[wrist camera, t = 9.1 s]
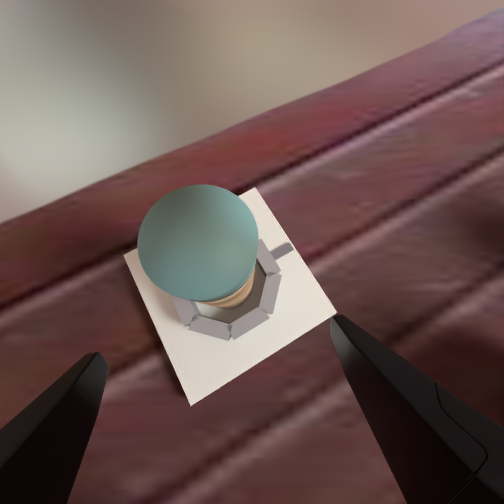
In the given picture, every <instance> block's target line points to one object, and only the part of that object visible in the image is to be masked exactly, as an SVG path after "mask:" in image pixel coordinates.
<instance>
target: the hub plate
mask: <svg viewBox="0 0 504 504" xmlns="http://www.w3.org/2000/svg"><path fill="white" fill-rule="evenodd" d="M238 197H239V198H240V199H241V200H242V201H243V202H244V203H245V204H246V205H247V206H248V208H249V209H250V210H251V212H252V214H253V216H254V218H255V221H256V224H257V228H258V235H259V241H258V250H257V257H256V264H255V271H254V278H253V284H252V290H251V293H250V295H249V297H248V298H247V300H246V301H245V302H244V303H243V304H241V305H240V306H238V307H235V308H231V309H223V308H218V307H214V306H211V305H207V304H203V303H199V302H195V301H192V300H188V299H184V298H180V297H177V296H174V295H171V294H169V293H167V292H165V291H163V290H162V289H160V288H159V287H157V286H156V285H155V284H154V283H153V282H152V281H151V280H150V279H149V277H148V276H147V275H146V273H145V271H144V270H143V268H142V265H141V263H140V260H139V256H138V248H136V249H134V250H132V251H130V252H129V253H127V254H125V255H123V256H124V258H125V260H126V262H127V265H128V267H129V269H130V271H131V274H132V276H133V278H134V280H135V282H136V285H137V287H138V289H139V291H140V294H141V296H142V298H143V300H144V303H145V305H146V307H147V309H148V311H149V314H150V316H151V318H152V320H153V323H154V325H155V327H156V329H157V332H158V334H159V336H160V338H161V340H162V343H163V345H164V347H165V349H166V352H167V354H168V356H169V358H170V361H171V363H172V365H173V367H174V369H175V372H176V374H177V376H178V378H179V381H180V383H181V385H182V387H183V390H184V392H185V394H186V396H187V398H188V401H189V403H190V405H191V406H192V405H193V404H195V403H196V402H198V401H199V400H201V399H202V398H204V397H206V396H207V395H209V394H210V393H212V392H213V391H215V390H217V389H218V388H220V387H221V386H223V385H224V384H226V383H228V382H229V381H231V380H232V379H234V378H235V377H237V376H239V375H240V374H242V373H243V372H245V371H246V370H248V369H249V368H251V367H253V366H254V365H256V364H257V363H259V362H260V361H262V360H264V359H265V358H267V357H268V356H270V355H271V354H273V353H275V352H276V351H278V350H279V349H281V348H282V347H284V346H286V345H287V344H289V343H290V342H292V341H293V340H295V339H296V338H298V337H300V336H301V335H303V334H304V333H306V332H307V331H309V330H311V329H312V328H314V327H315V326H317V325H318V324H320V323H322V322H323V321H325V320H326V319H328V318H329V317H331V316H333V315H334V314H336V313H337V312H336V310H335V309H334V307H333V305H332V304H331V302H330V301H329V299H328V298H327V296H326V295H325V293H324V292H323V290H322V289H321V287H320V286H319V284H318V283H317V281H316V280H315V278H314V276H313V275H312V273H311V272H310V270H309V269H308V267H307V266H306V264H305V263H304V261H303V260H302V258H301V257H300V255H299V254H298V252H297V251H296V249H295V247H294V246H293V244H292V243H291V241H290V240H289V238H288V237H287V235H286V234H285V232H284V231H283V229H282V228H281V226H280V225H279V223H278V222H277V220H276V218H275V217H274V215H273V214H272V212H271V211H270V209H269V208H268V206H267V205H266V203H265V202H264V200H263V199H262V197H261V196H260V194H259V193H258V191H257V189H256V188H253V189H251V190H249V191H247V192H245V193H243V194H241V195H240V196H238Z"/></svg>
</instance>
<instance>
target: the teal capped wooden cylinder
mask: <svg viewBox="0 0 504 504" xmlns="http://www.w3.org/2000/svg"><path fill="white" fill-rule="evenodd" d="M258 241H259V235H258V228H257V224H256V221H255V218H254V216H253V214H252V212H251V210H250V209H249V208H248V206H247V205H246V204H245V203H244V202H243V201H242V200H241V199H240V198H239V197H238V196H236V195H235V194H233V193H232V192H230V191H228V190H226V189H223V188H220V187H217V186H212V185H202V184H201V185H191V186H185V187H182V188H179V189H177V190H174V191H172V192H170V193H168V194H167V195H165V196H164V197H162V198H161V199H160V200H159V201H157V202H156V203H155V204H154V205H153V206H152V208H151V209H150V210H149V211H148V213H147V214H146V216H145V218H144V220H143V222H142V224H141V227H140V230H139V234H138V243H137V248H138V256H139V260H140V263H141V265H142V268H143V270H144V271H145V273H146V275H147V276H148V277H149V279H150V280H151V281H152V282H153V283H154V284H155V285H156V286H157V287H159V288H160V289H162V290H163V291H165V292H167V293H169V294H171V295H174V296H177V297H180V298H184V299H188V300H192V301H195V302H199V303H203V304H207V305H211V306H214V307H218V308H223V309H231V308H235V307H238V306H240V305H241V304H243V303H244V302H245V301H246V300H247V298H248V297H249V295H250V293H251V290H252V284H253V278H254V271H255V264H256V257H257V250H258Z"/></svg>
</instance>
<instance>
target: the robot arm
mask: <svg viewBox="0 0 504 504" xmlns="http://www.w3.org/2000/svg"><path fill="white" fill-rule="evenodd" d="M330 335H331V338H332V341H333V343H334V346H335V349H336V352H337V354H338V357H339V360H340V363H341V365H342V368H343V371H344V373H345V376H346V378H347V380H348V382H349V384H350V386H351V388H352V390H353V392H354V394H355V397H356V399H357V401H358V403H359V405H360V407H361V409H362V411H363V413H364V415H365V417H366V419H367V421H368V423H369V425H370V428H371V430H372V432H373V434H374V436H375V438H376V440H377V442H378V444H379V446H380V448H381V450H382V452H383V454H384V456H385V459H386V461H387V463H388V465H389V467H390V469H391V471H392V473H393V475H394V477H395V479H396V481H397V483H398V485H399V487H400V489H401V492H402V494H403V496H404V498H405V500H406V502H407V504H504V427H503V426H501V425H500V424H498V423H496V422H495V421H493V420H492V419H490V418H489V417H487V416H485V415H484V414H482V413H481V412H479V411H478V410H476V409H475V408H473V407H472V406H470V405H468V404H467V403H466V402H464V401H463V400H461V399H460V398H458V397H457V396H455V395H454V394H453V393H451V392H450V391H448V390H447V389H446V388H444V387H443V386H441V385H440V384H439V383H437V382H434V380H433V379H431V378H430V377H429V376H427V375H426V374H424V373H423V372H422V371H420V370H419V369H417V368H416V367H415V366H413V365H412V364H411V363H409V362H408V361H406V360H405V359H404V358H402V357H401V356H399V355H398V354H397V353H395V352H394V351H392V350H391V349H390V348H388V347H387V346H385V345H384V344H383V343H381V342H380V341H378V340H377V339H376V338H374V337H373V336H372V335H370V334H369V333H367V332H366V331H365V330H363V329H362V328H360V327H359V326H358V325H356V324H355V323H353V322H352V321H351V320H349V319H348V318H346V317H345V316H344V315H335V316H332V317H331V324H330ZM108 372H109V366H108V364H107V362H106V361H105V359H104V358H103V356H102V355H101V353H99V352H94V353H89V354H86V355H85V356H84V357H82V358H81V359H80V360H79V361H78V362H77V363H76V364H74V365H73V366H72V367H71V368H70V369H69V370H68V371H67V372H65V373H64V374H63V375H62V376H61V377H60V378H59V379H57V380H56V381H55V382H54V383H53V384H52V385H51V386H49V387H48V388H47V389H46V390H45V391H44V392H43V393H42V394H40V395H39V396H38V397H37V398H36V399H35V400H34V401H32V402H31V403H30V404H29V405H28V406H27V407H26V408H24V409H23V410H22V411H21V412H20V413H19V414H18V415H17V416H15V417H14V418H13V419H12V420H11V421H10V422H9V423H7V424H6V425H5V426H4V427H3V428H2V429H1V430H0V504H67V501H68V498H69V496H70V493H71V490H72V487H73V484H74V481H75V478H76V476H77V473H78V470H79V467H80V464H81V461H82V459H83V456H84V453H85V450H86V447H87V444H88V441H89V439H90V436H91V433H92V430H93V427H94V424H95V421H96V418H97V415H98V412H99V408H100V404H101V400H102V396H103V392H104V388H105V384H106V380H107V376H108Z"/></svg>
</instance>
